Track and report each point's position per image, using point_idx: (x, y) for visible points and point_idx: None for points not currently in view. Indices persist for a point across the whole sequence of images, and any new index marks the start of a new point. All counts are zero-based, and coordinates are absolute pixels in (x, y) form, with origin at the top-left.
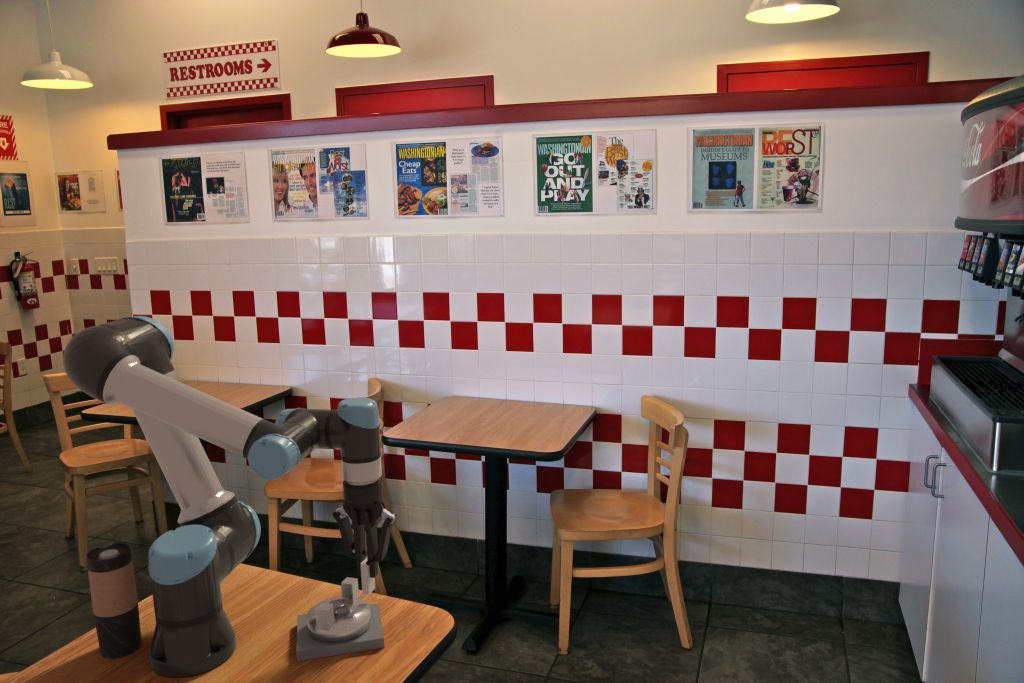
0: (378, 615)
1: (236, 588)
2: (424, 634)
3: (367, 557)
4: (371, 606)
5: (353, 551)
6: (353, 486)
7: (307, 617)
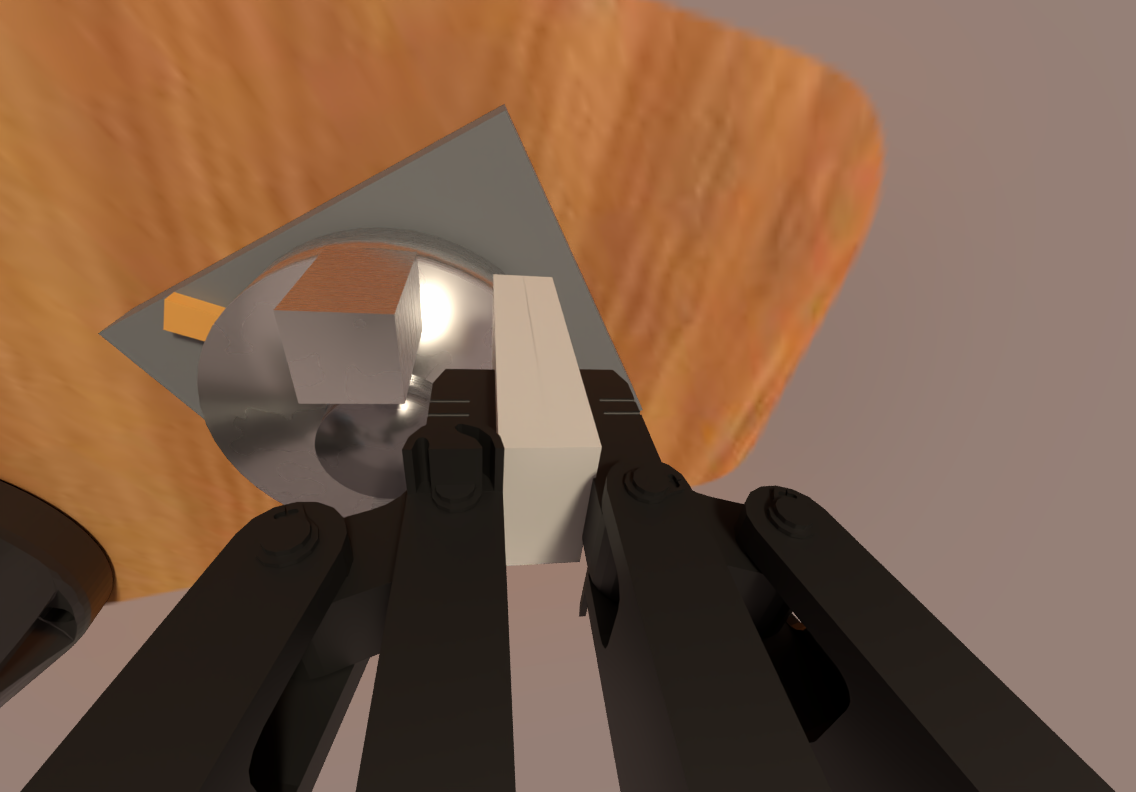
0: (559, 253)
1: None
2: (780, 272)
3: (594, 629)
4: (476, 158)
5: (342, 652)
6: None
7: (266, 490)
